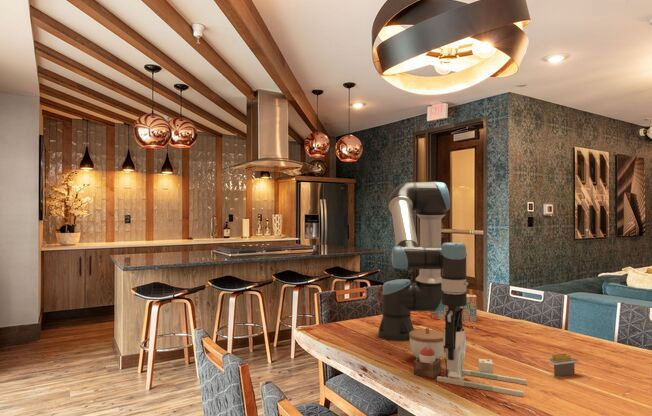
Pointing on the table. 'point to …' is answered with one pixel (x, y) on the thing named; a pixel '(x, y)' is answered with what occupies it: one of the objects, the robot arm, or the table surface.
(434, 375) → the button housing
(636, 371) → the table surface
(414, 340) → the lidded bowl
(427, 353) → the dome button
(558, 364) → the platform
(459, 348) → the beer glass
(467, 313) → the stack of blocks
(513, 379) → the track
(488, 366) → the die
